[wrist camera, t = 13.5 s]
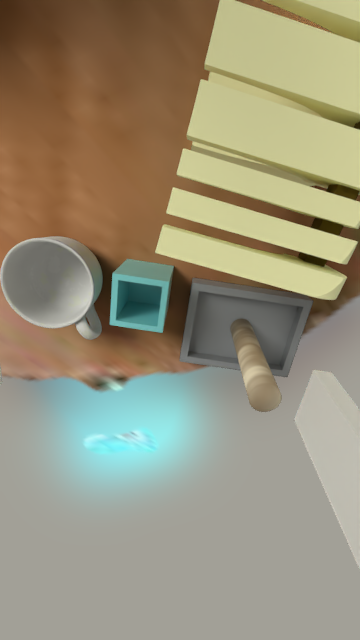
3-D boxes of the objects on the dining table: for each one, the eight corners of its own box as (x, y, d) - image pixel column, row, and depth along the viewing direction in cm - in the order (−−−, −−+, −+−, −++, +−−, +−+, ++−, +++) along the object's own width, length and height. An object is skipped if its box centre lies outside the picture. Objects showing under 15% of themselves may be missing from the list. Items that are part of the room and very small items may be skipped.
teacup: (19, 247, 40) (-20, 259, 33) (88, 218, 38) (63, 223, 31) (68, 334, 45) (44, 361, 38) (132, 311, 43) (120, 335, 36)
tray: (180, 352, 46) (179, 361, 43) (192, 277, 41) (192, 282, 38) (282, 367, 46) (287, 377, 43) (306, 294, 41) (313, 301, 39)
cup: (124, 302, 43) (109, 325, 35) (127, 258, 40) (112, 273, 33) (168, 309, 43) (162, 332, 36) (173, 265, 40) (169, 281, 33)
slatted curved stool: (287, 261, 39) (352, 308, 23) (172, 228, 38) (155, 252, 22) (414, -45, 28) (730, -389, 11) (254, -104, 27) (347, -570, 10)
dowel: (228, 335, 43) (245, 409, 28) (232, 317, 42) (253, 383, 27) (248, 338, 43) (276, 413, 28) (253, 320, 42) (285, 388, 27)
